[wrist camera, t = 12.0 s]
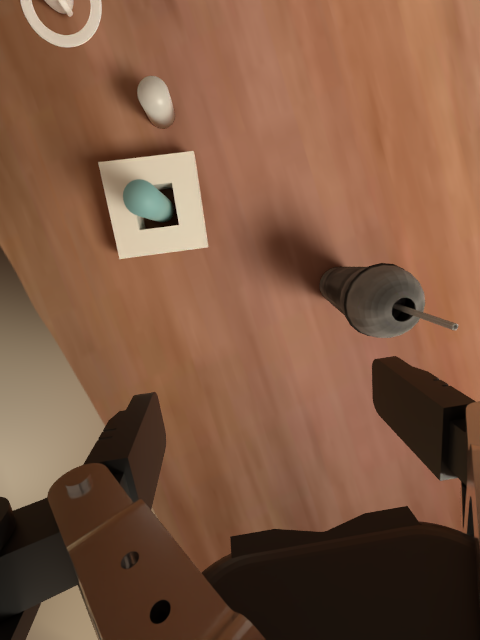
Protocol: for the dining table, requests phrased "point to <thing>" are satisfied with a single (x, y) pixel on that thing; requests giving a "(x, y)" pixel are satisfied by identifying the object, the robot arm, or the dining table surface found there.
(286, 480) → the dining table surface
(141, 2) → the dining table surface
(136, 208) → the long pin
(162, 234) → the hole block
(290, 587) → the robot arm
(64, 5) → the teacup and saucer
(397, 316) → the beverage cup
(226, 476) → the dining table surface
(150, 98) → the short pin
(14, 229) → the dining table surface
